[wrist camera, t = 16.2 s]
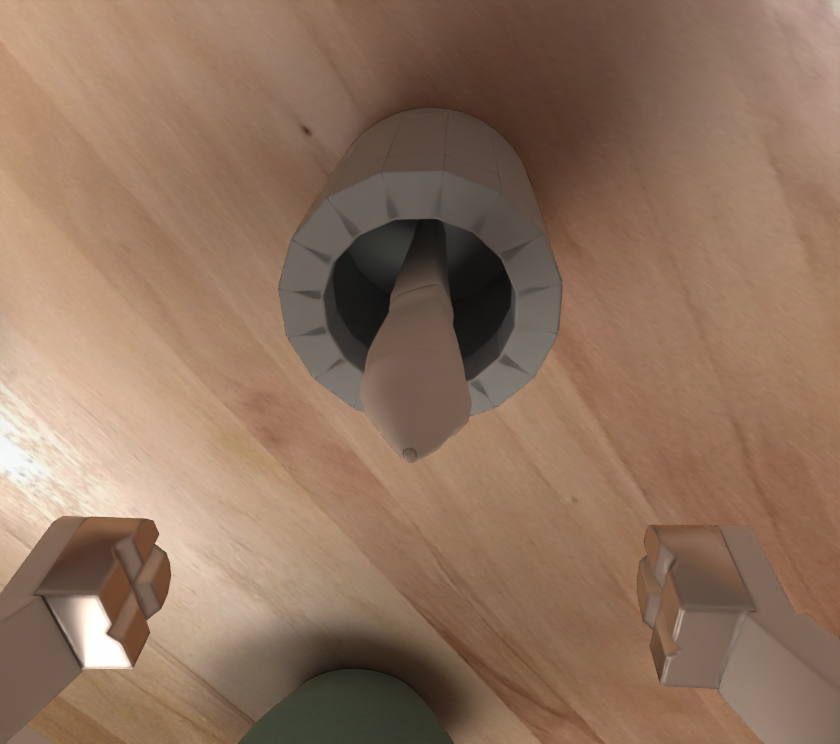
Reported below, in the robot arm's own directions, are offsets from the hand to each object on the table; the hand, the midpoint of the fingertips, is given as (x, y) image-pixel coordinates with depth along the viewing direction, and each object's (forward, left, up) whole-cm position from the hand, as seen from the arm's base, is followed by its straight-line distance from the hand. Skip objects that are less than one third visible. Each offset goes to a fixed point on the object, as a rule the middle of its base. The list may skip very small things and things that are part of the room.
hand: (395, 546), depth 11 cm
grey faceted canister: (0, 0, -18) cm, 18 cm away
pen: (0, 0, -17) cm, 17 cm away
